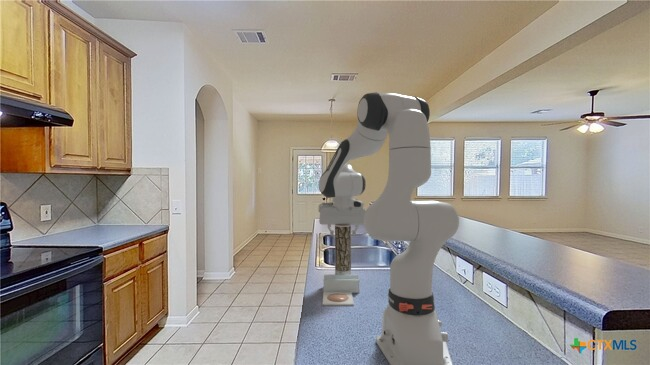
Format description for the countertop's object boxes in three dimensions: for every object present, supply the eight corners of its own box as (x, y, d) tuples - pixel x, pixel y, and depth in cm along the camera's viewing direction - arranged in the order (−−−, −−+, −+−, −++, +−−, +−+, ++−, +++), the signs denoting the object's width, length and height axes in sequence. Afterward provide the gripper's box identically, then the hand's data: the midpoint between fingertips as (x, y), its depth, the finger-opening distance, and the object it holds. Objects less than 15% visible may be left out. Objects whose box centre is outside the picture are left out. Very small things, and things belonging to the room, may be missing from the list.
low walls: (359, 292, 124) (359, 280, 124) (323, 292, 125) (323, 279, 125) (358, 286, 131) (358, 274, 131) (324, 286, 131) (324, 274, 131)
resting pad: (353, 305, 112) (353, 303, 112) (322, 305, 113) (322, 303, 113) (351, 293, 123) (351, 292, 123) (323, 293, 124) (323, 291, 124)
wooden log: (345, 286, 132) (345, 226, 131) (332, 283, 136) (331, 224, 135) (354, 281, 137) (354, 224, 136) (341, 278, 141) (340, 222, 140)
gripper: (318, 203, 133) (318, 236, 133) (367, 203, 132) (367, 236, 132) (318, 201, 139) (318, 233, 139) (365, 201, 138) (365, 233, 139)
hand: (342, 234), depth 136 cm, fingers open, 8 cm apart
